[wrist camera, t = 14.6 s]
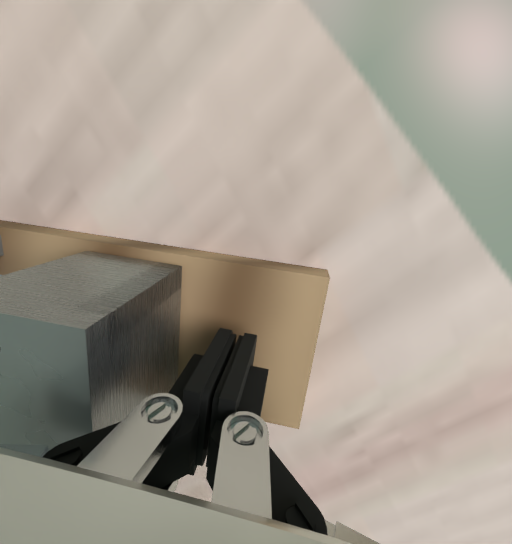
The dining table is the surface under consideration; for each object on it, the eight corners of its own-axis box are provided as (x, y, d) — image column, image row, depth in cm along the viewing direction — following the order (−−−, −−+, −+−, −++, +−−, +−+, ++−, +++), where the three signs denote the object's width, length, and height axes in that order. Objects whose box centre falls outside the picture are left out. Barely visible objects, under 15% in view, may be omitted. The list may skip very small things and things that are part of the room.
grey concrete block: (181, 265, 12) (85, 329, 7) (176, 401, 14) (100, 532, 9) (86, 250, 13) (-76, 298, 7) (95, 383, 15) (-25, 497, 9)
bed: (327, 269, 13) (349, 338, 7) (298, 411, 15) (297, 550, 9) (-53, 212, 15) (-279, 227, 9) (-25, 343, 17) (-191, 422, 12)
